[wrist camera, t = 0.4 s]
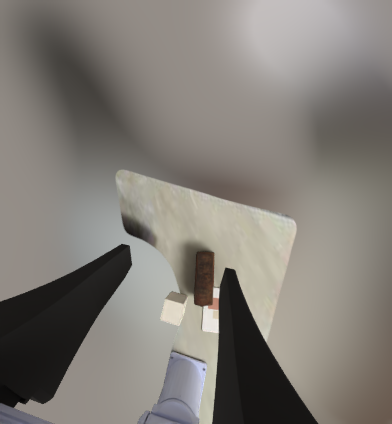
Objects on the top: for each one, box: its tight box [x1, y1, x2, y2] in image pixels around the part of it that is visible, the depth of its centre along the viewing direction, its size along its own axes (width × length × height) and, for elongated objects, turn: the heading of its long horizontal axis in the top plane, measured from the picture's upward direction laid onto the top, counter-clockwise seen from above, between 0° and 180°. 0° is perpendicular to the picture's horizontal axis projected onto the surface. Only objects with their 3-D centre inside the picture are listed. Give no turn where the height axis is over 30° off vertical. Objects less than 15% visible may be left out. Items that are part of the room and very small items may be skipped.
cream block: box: [160, 291, 188, 326], centre depth 33 cm, size 4×4×5 cm
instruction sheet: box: [202, 287, 220, 333], centre depth 34 cm, size 9×6×1 cm, turn 175°
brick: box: [194, 252, 214, 307], centre depth 33 cm, size 11×4×5 cm, turn 177°
